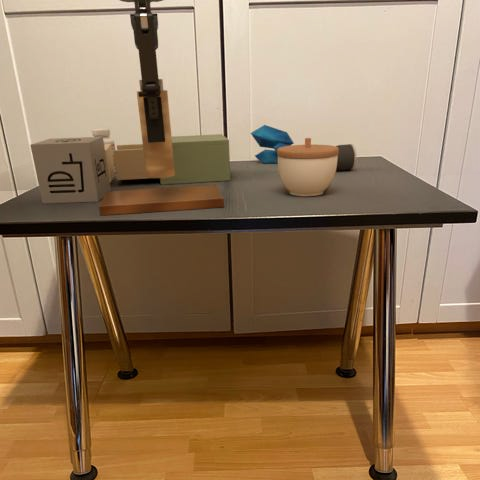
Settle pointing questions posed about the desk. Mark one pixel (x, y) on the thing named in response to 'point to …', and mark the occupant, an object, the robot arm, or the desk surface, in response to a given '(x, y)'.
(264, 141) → the crystal
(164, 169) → the pepper mill
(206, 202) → the cutting board
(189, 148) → the cabinet
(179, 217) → the desk surface
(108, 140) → the supplement bottle
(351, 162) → the flashlight
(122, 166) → the drawer
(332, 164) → the trinket box
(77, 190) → the icon cube
